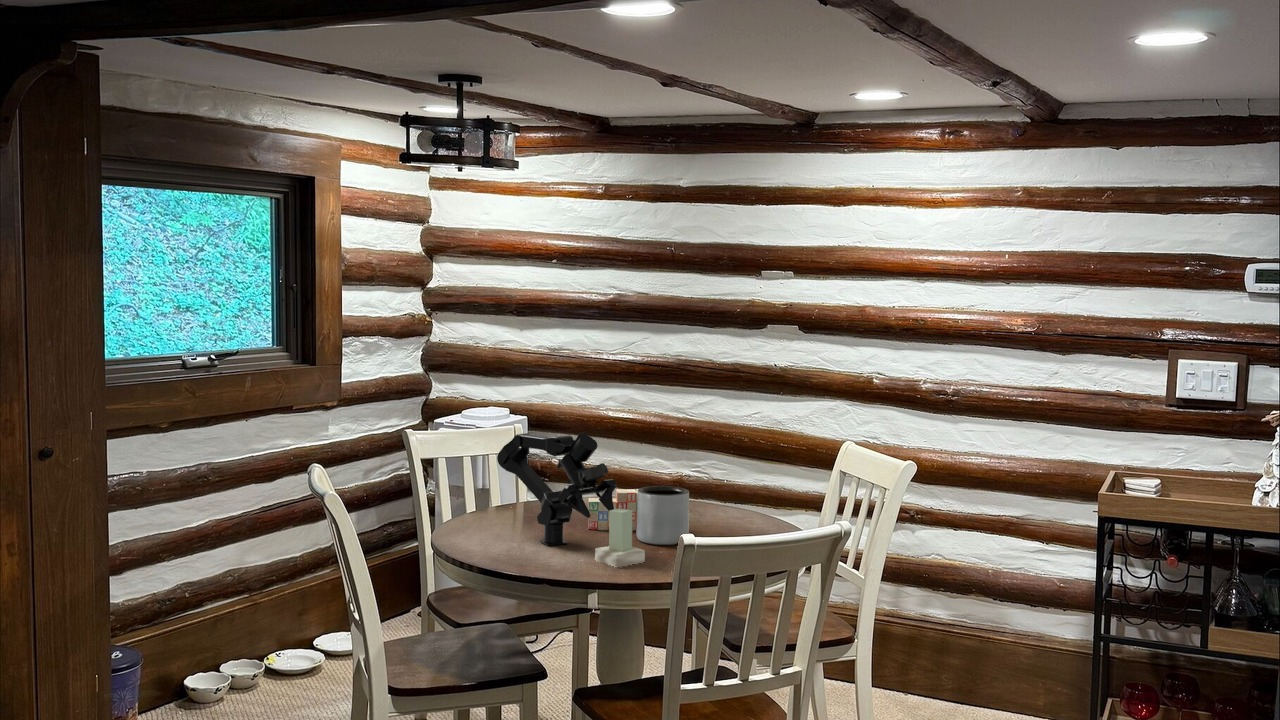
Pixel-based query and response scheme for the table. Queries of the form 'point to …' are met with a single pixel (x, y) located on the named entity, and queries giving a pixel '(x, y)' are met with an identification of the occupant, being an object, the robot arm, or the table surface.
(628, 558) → the cream base block
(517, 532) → the table surface
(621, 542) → the tall sage block
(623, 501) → the stack of blocks
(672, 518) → the planter
